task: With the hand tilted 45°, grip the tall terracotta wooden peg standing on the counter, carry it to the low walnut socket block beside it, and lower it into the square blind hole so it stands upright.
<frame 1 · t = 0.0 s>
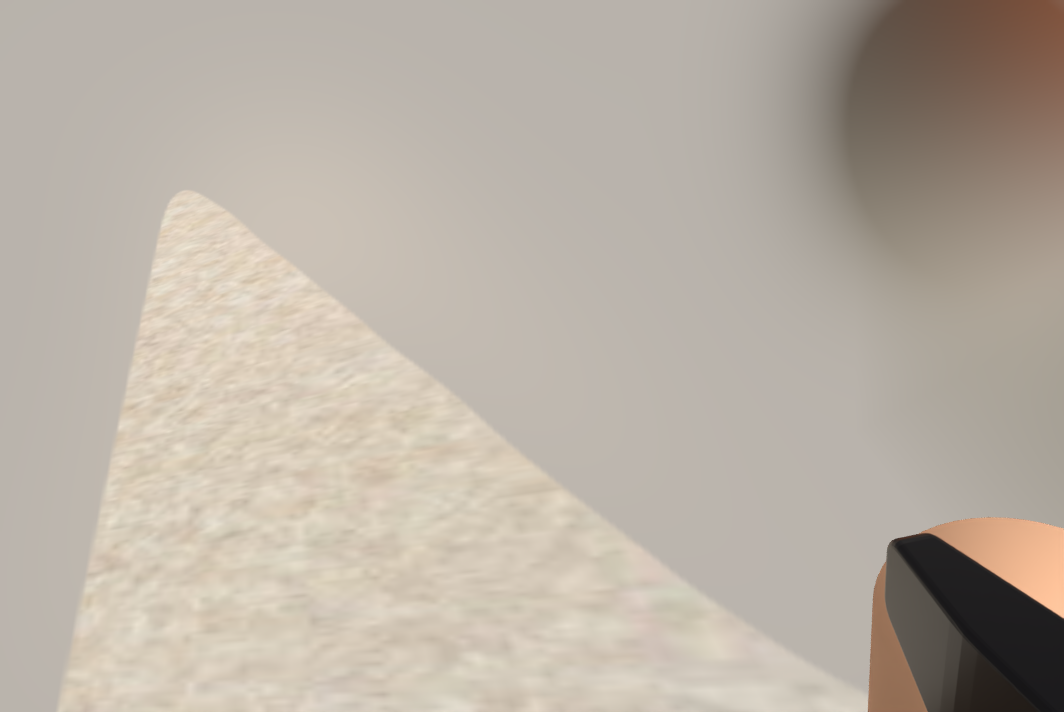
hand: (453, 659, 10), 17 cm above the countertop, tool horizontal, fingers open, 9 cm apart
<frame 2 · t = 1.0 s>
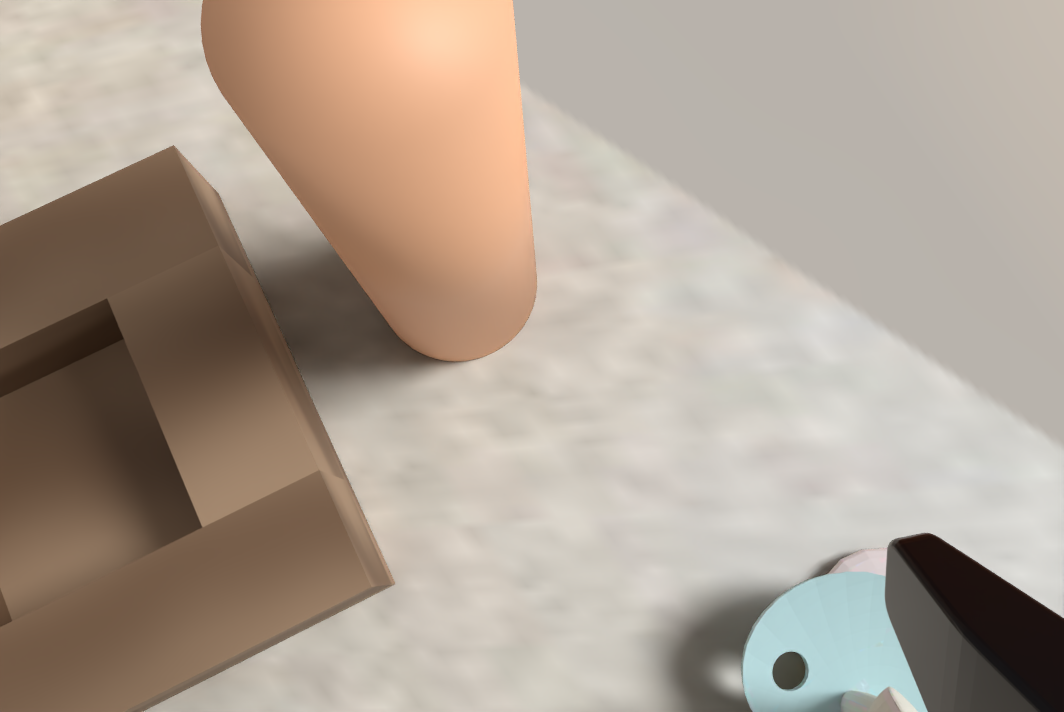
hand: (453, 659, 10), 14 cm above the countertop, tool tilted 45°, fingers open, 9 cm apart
pacifier: (892, 697, 23), on the countertop
socket block: (97, 479, 24), on the countertop
peg: (457, 283, 25), on the countertop
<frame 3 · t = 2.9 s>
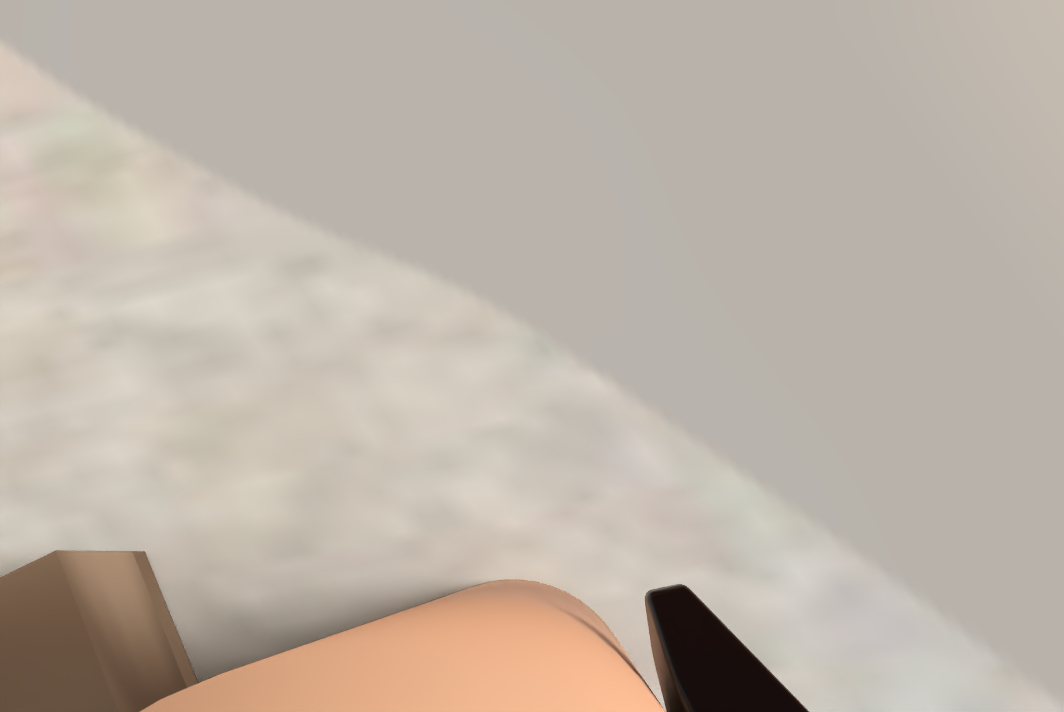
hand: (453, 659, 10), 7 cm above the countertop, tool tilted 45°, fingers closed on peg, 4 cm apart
peg: (512, 705, 16), on the countertop, touching gripper
when the fingers open (8 cm above the countertop, at t = 6.8 s): peg stays where it is, resting on socket block.
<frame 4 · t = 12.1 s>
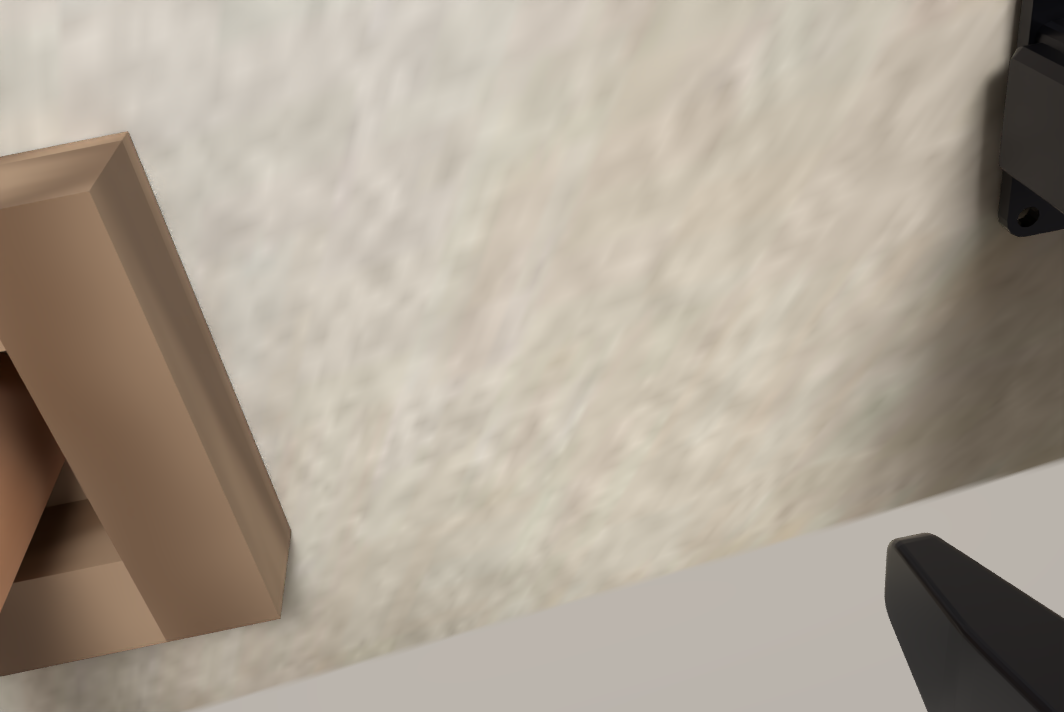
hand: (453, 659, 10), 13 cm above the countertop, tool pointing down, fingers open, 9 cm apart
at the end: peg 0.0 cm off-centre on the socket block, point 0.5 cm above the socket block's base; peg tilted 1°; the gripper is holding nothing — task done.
